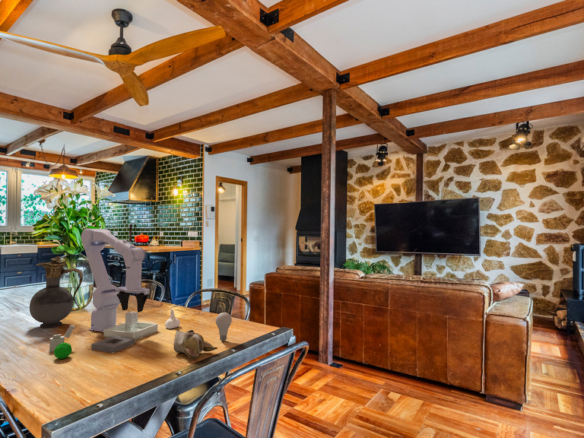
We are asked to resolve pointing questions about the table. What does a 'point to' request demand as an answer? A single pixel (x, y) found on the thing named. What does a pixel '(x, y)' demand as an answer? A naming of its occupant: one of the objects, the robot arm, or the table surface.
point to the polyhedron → (62, 350)
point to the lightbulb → (223, 324)
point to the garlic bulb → (172, 321)
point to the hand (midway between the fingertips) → (132, 310)
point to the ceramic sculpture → (191, 344)
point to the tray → (142, 331)
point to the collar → (113, 344)
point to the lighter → (59, 338)
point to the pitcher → (53, 296)
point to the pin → (131, 321)
